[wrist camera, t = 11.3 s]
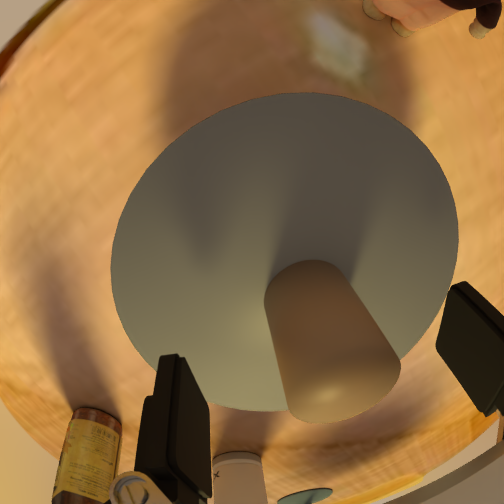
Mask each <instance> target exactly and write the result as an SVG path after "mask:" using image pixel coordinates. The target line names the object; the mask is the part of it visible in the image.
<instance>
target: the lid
mask: <svg viewBox="0 0 504 504" xmlns="http://www.w3.org/2000/svg"><path fill="white" fill-rule="evenodd" d="M458 242H459V239H458V219H457V213H456V207H455V202H454V198H453V195H452V192H451V189H450V186H449V183H448V181H447V179H446V177H445V175H444V173H443V171H442V169H441V167H440V165H439V163H438V162H437V160H436V159H435V158H434V156H433V155H432V153H431V152H430V150H429V149H428V148H427V146H426V145H425V144H424V143H423V142H422V141H421V140H420V139H419V138H418V137H417V136H416V135H415V134H414V133H413V132H412V131H411V130H410V129H408V128H407V127H406V126H404V125H403V124H402V123H400V122H399V121H397V120H396V119H395V118H393V117H392V116H390V115H388V114H386V113H384V112H382V111H380V110H378V109H376V108H374V107H372V106H370V105H368V104H365V103H362V102H359V101H355V100H352V99H349V98H346V97H342V96H335V95H328V94H320V93H284V94H277V95H272V96H267V97H262V98H257V99H252V100H249V101H246V102H243V103H241V104H238V105H235V106H232V107H230V108H227V109H225V110H222V111H220V112H218V113H216V114H214V115H212V116H211V117H209V118H207V119H205V120H204V121H202V122H200V123H198V124H197V125H195V126H193V127H192V128H190V129H189V130H188V131H186V132H185V133H184V134H183V135H181V136H180V137H179V138H178V139H176V140H175V141H174V142H173V143H171V144H170V145H169V146H168V147H167V148H166V149H165V150H164V151H163V152H162V153H161V154H160V155H159V156H158V157H157V158H156V160H155V161H154V162H153V163H152V164H151V165H150V166H149V167H148V168H147V170H146V171H145V173H144V174H143V176H142V177H141V179H140V180H139V182H138V183H137V185H136V186H135V188H134V189H133V191H132V192H131V194H130V196H129V198H128V201H127V203H126V205H125V207H124V209H123V212H122V214H121V216H120V219H119V222H118V226H117V229H116V233H115V237H114V241H113V247H112V257H111V283H112V292H113V297H114V301H115V306H116V310H117V313H118V315H119V318H120V320H121V323H122V325H123V328H124V330H125V332H126V334H127V335H128V337H129V339H130V340H131V342H132V344H133V345H134V347H135V348H136V350H137V351H138V352H139V353H140V355H141V356H142V357H143V358H144V360H145V361H146V362H147V363H148V364H149V365H150V366H151V367H152V368H153V369H154V370H155V371H156V372H157V367H158V361H159V357H160V356H161V355H168V354H175V353H177V354H179V356H180V357H185V358H186V360H187V362H188V365H189V367H190V369H191V371H192V373H193V375H194V377H195V379H196V382H197V384H198V386H199V388H200V390H201V392H202V394H203V396H204V398H205V400H206V401H207V402H210V403H214V404H217V405H221V406H224V407H229V408H234V409H240V410H249V411H285V410H289V411H290V413H291V414H292V415H293V416H294V417H295V418H297V419H299V420H301V421H304V422H307V423H314V424H326V423H334V422H339V421H343V420H346V419H349V418H352V417H354V416H357V415H359V414H361V413H363V412H365V411H366V410H368V409H370V408H371V407H373V406H374V405H376V404H377V403H378V402H380V401H381V400H382V399H383V398H384V397H385V396H386V395H387V394H388V393H389V392H390V391H391V389H392V388H393V387H394V385H395V384H396V382H397V380H398V378H399V375H400V370H401V363H400V360H401V359H402V358H403V357H404V356H405V355H406V354H407V353H408V352H409V351H410V350H411V349H412V348H413V347H414V345H415V344H416V343H417V342H418V341H419V340H420V338H421V337H422V336H423V335H424V333H425V332H426V331H427V329H428V328H429V327H430V325H431V323H432V322H433V320H434V318H435V317H436V315H437V314H438V312H439V310H440V308H441V306H442V304H443V302H444V300H445V297H446V295H447V292H448V290H449V287H450V284H451V281H452V278H453V274H454V270H455V265H456V261H457V252H458Z"/></svg>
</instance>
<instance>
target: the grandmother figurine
mask: <svg viewBox="0 0 504 504" xmlns="http://www.w3.org/2000/svg"><path fill="white" fill-rule="evenodd" d="M473 8H476V18H475V19H474V22H473V23H471V24H470V26H469V32H470V33H471V35H472V36H473V37H475V38H476V39H482V38H484V37H485V34H486V33H488V32H489V31H490V30H491V29H493V28H495V27H496V25H497V22H498V20H499V17H500V15H501V10H502V4H501V0H363V10H364V12H365V13H366V14H367V15H368V16H369V17H371V18H373V19H375V20H382V19H384V17H385V16H386V14H387V15H389V16H391V17H393V18H392V21H391V24H392V27H393V29H394V30H395V31H396V32H397V33H398V34H399V35H400V36H402V37H408V36H410V35H411V34H412V33H414V32H415V31H416V30H418V29H421V28H424V27H427V26H431V25H433V24H436V23H438V22H439V21H441V20H443V19H445V18H447V17H449V16H451V15H453V14H455V13H457V12H459V11H461V10H465V9H473Z"/></svg>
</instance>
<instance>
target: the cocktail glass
mask: <svg viewBox="0 0 504 504" xmlns="http://www.w3.org/2000/svg"><path fill="white" fill-rule="evenodd" d="M331 494H332V490H331V489H326V488H321V489H312V490H307V491H302V492H298V493H294V494H291V495H288V496H286V497H284V498H282V499H280V500H279V501H278V502H277V504H312V503H315V502H318V501H321V500H323V499H325V498H327V497H329V496H330V495H331Z"/></svg>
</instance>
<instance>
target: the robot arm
mask: <svg viewBox="0 0 504 504" xmlns="http://www.w3.org/2000/svg"><path fill="white" fill-rule="evenodd" d="M436 350H437V352H438V353H439V355H440V356H441V357H442V359H443V360H444V361H445V363H446V364H447V366H448V367H449V368H450V370H451V371H452V373H453V374H454V375H455V377H456V378H457V380H458V381H459V383H460V384H461V385H462V387H463V388H464V390H465V391H466V393H467V394H468V396H469V397H470V399H471V400H472V402H473V403H474V405H475V406H476V408H477V409H478V410H479V411H480V412H483V414H484V415H485V417H488V416H489V415H491V414H492V413H494V412H496V413H497V415H498V416H499V418H500V420H499V428H498V435H497V442H496V445H495V446H493V447H492V448H491V449H489V450H488V451H486V452H484V453H483V454H481V455H480V456H478V457H477V458H475V459H473V460H472V461H470V462H468V463H467V464H465V465H463V466H462V467H460V468H458V469H456V470H455V471H453V472H451V473H449V474H447V475H445V476H443V477H442V478H440V479H438V480H436V481H434V482H432V483H430V484H428V485H426V486H424V487H421V488H419V489H417V490H415V491H413V492H410V493H408V494H406V495H404V496H401V497H399V498H396V499H394V500H391V501H389V502H386V503H384V504H504V316H503V315H502V314H501V313H500V312H499V311H498V310H497V309H496V308H495V307H494V306H493V305H492V304H491V303H490V302H489V301H487V300H486V299H485V298H484V297H483V296H482V295H481V294H480V293H479V292H478V291H477V290H476V289H474V288H473V287H472V286H471V285H470V284H469V283H468V282H466V281H463V282H460V283H457V284H454V285H452V286H451V287H450V290H449V291H448V293H447V298H446V303H445V308H444V312H443V316H442V321H441V325H440V329H439V333H438V336H437V340H436ZM211 497H212V477H211V452H210V414H209V407H208V404H207V402H206V400H205V398H204V396H203V394H202V392H201V390H200V388H199V386H198V384H197V382H196V379H195V377H194V375H193V373H192V371H191V369H190V367H189V365H188V362H187V360H186V358H185V357H180V356H179V354H177V353H175V354H168V355H161V356H160V357H159V361H158V367H157V373H156V380H155V386H154V392H153V395H151V396H147V397H146V398H145V400H144V404H143V410H142V416H141V423H140V430H139V436H138V444H137V451H136V459H135V467H134V471H129V472H124V473H122V474H120V475H118V476H117V477H116V478H115V479H114V480H113V482H112V483H111V485H110V489H109V498H110V499H109V500H107V501H106V502H105V503H103V504H207V498H211Z"/></svg>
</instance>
